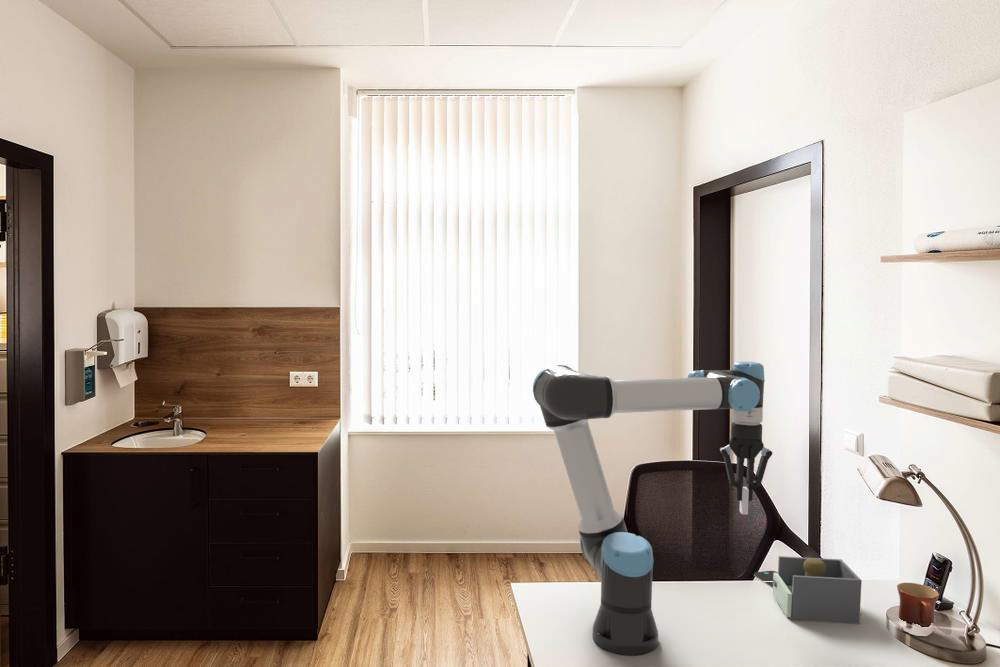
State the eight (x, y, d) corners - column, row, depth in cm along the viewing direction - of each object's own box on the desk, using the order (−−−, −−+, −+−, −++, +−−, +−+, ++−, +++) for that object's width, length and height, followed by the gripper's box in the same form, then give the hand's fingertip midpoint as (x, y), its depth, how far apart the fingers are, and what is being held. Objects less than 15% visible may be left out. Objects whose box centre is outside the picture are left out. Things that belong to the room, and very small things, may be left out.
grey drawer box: (792, 619, 177) (793, 576, 176) (777, 596, 191) (778, 556, 190) (859, 623, 175) (861, 580, 175) (839, 599, 189) (841, 559, 188)
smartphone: (774, 570, 207) (809, 591, 193) (774, 572, 207) (809, 594, 193) (751, 572, 205) (785, 594, 191) (751, 575, 205) (784, 597, 191)
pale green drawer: (785, 616, 177) (786, 593, 177) (771, 594, 190) (772, 572, 190) (848, 620, 176) (849, 597, 175) (830, 597, 189) (831, 575, 188)
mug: (889, 621, 177) (891, 580, 176) (928, 624, 175) (930, 584, 175) (907, 644, 165) (909, 601, 165) (948, 648, 164) (951, 605, 163)
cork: (822, 597, 185) (823, 556, 185) (829, 607, 180) (830, 565, 179) (797, 595, 186) (799, 554, 186) (803, 605, 180) (805, 563, 180)
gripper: (723, 424, 179) (720, 516, 180) (777, 426, 178) (773, 518, 179) (717, 418, 186) (714, 507, 188) (769, 420, 185) (766, 509, 186)
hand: (743, 512), depth 183 cm, fingers closed
